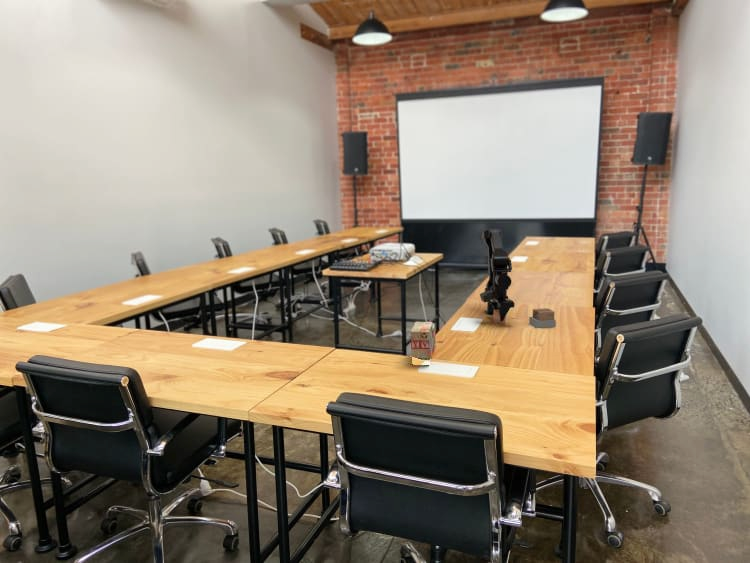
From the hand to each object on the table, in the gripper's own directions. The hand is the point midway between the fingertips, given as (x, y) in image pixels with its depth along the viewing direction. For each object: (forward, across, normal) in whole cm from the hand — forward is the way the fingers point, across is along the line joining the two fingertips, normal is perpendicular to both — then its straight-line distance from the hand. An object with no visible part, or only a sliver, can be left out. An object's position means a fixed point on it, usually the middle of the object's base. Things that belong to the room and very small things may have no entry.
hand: (499, 319), depth 235 cm
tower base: (+2, +10, +15) cm, 18 cm away
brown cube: (+1, 0, 0) cm, 1 cm away
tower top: (-2, +10, +15) cm, 18 cm away
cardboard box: (+1, +38, -42) cm, 57 cm away
